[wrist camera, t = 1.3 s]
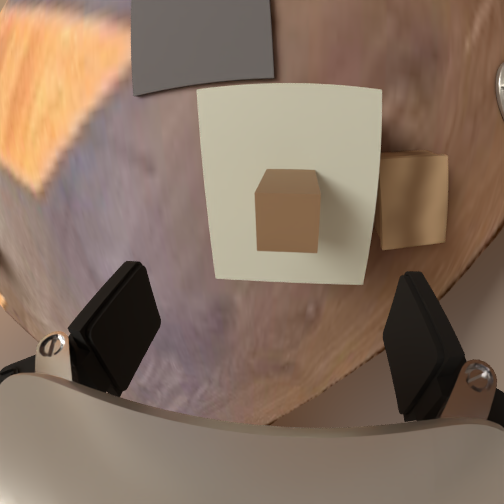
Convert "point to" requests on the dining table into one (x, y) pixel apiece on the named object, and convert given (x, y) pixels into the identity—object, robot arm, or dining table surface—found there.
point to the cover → (290, 180)
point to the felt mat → (199, 42)
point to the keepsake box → (411, 199)
